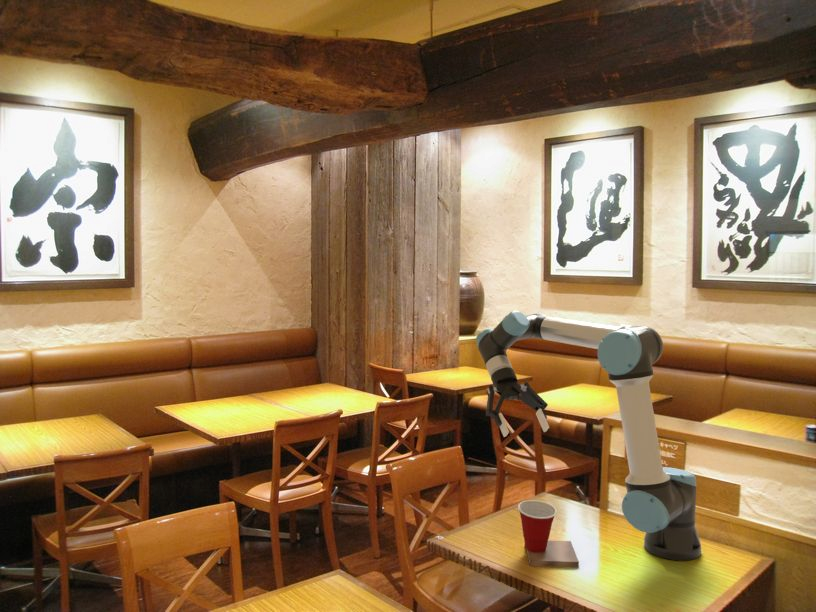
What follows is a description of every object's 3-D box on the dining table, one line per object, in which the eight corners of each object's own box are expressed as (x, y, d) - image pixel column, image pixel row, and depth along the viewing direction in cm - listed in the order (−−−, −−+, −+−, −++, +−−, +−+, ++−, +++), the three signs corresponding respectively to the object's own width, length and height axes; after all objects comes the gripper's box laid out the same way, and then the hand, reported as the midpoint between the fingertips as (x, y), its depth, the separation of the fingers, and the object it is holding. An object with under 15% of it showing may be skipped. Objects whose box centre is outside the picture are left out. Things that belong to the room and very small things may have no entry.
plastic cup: (530, 560, 183) (531, 517, 182) (509, 543, 193) (510, 503, 192) (563, 553, 187) (565, 511, 186) (541, 537, 197) (542, 498, 196)
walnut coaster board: (570, 546, 195) (570, 541, 195) (578, 567, 182) (578, 561, 182) (525, 545, 196) (525, 540, 196) (530, 566, 183) (530, 560, 183)
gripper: (531, 377, 218) (557, 434, 205) (462, 383, 209) (484, 443, 196) (540, 363, 212) (568, 420, 200) (469, 369, 203) (493, 429, 191)
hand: (526, 432), depth 198 cm, fingers open, 13 cm apart
